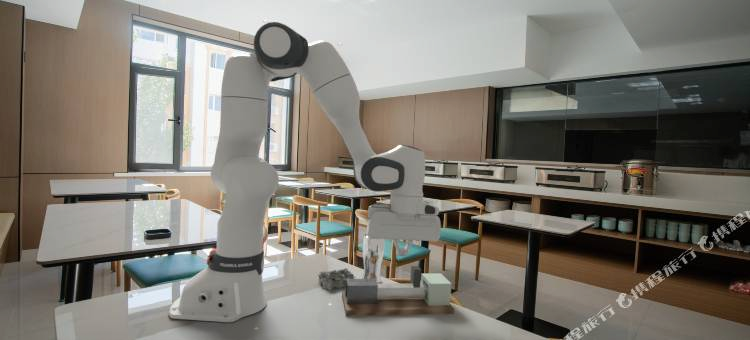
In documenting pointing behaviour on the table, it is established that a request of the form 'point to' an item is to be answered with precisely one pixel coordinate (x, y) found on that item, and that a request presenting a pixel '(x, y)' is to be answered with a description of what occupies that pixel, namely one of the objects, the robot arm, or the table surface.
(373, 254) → the beer glass
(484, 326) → the table surface
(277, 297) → the table surface
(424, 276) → the socket
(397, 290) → the light grey bar piece
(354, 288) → the sleeve
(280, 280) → the table surface
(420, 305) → the base board
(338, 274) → the egg carton
